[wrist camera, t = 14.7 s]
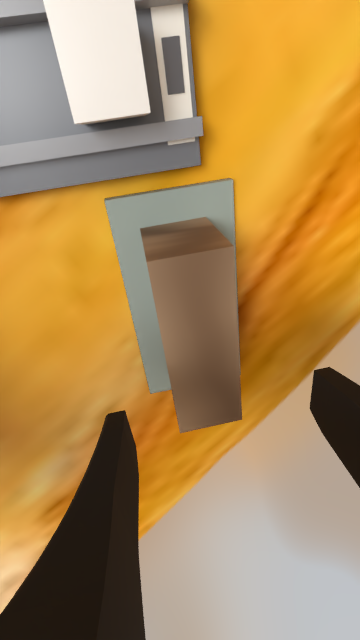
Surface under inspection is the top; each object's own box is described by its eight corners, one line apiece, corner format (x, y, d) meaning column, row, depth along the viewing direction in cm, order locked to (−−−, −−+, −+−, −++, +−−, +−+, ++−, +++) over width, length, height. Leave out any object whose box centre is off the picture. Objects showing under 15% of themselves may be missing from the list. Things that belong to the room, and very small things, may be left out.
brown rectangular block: (168, 374, 22) (180, 433, 18) (139, 228, 17) (146, 262, 13) (218, 363, 22) (242, 419, 18) (205, 216, 17) (233, 245, 13)
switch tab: (84, 124, 13) (74, 124, 11) (61, 29, 12) (42, -3, 9) (144, 115, 14) (150, 112, 11) (129, 21, 12) (132, -13, 9)
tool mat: (149, 387, 23) (150, 393, 23) (104, 198, 16) (104, 200, 16) (237, 369, 24) (240, 375, 23) (229, 178, 17) (232, 179, 16)
